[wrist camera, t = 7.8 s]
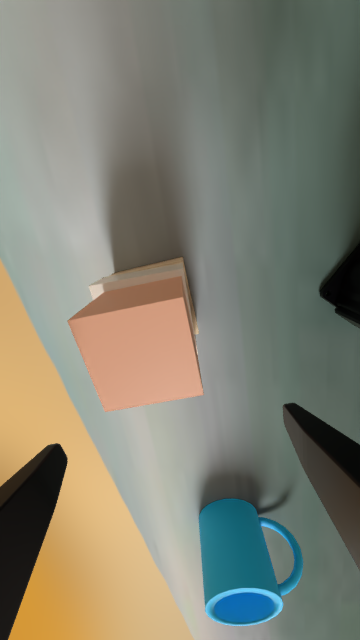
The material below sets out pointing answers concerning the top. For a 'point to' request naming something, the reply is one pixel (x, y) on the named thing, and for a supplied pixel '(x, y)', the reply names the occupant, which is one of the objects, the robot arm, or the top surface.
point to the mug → (241, 564)
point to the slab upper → (141, 281)
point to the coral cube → (139, 345)
